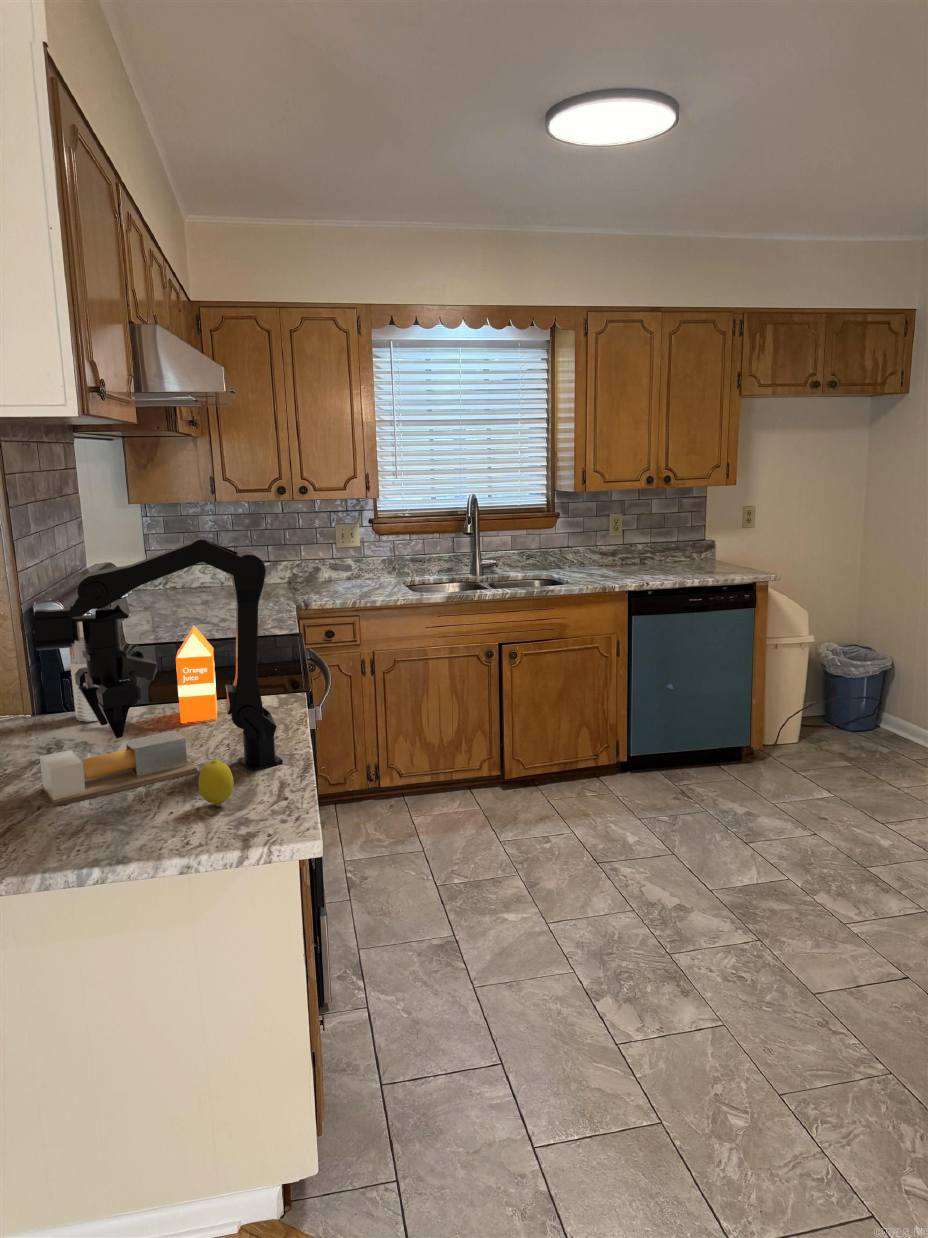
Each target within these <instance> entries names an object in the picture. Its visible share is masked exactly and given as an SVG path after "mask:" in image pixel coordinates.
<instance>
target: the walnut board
mask: <svg viewBox="0 0 928 1238" xmlns="http://www.w3.org/2000/svg"><path fill="white" fill-rule="evenodd" d="M195 773H198V768H197V767H196V766H195V765H194V764H192V763H191V762H190V761H189V760H187V766H185V767H180V768H176V769H172V770H168V771H164V772H159V773H155V774H151V775H147V776H142V777H138V778H137V777H136V776H135V775H134V774H133V773H132V772H131V771H130V770H126V771H122V772H117V773H113V774H108V775H104V776H100V777H95V778H91V779H87V780H86V779H85V778H84V782H85V792H86V793H81V794H77V795H73V796H69V797H65V798H61V799H56V800H53V799H52V797H51V796H50V795H49V793H48V792H47V791H46V789H45V788H44V787H43V783H42V784H41V789H42V790H43V791H44V793H45V795H46V796H47V797H48V798H49V800H50V802H52V803H53V805H54V806H55V807H59V806H63V805H67V804H73V803H76V802H79V801H84V800H88V799H93V798H95V797H100V796H104V795H110V794H113V793H117V792H122V791H125V790H128V789H132V788H133V789H134V788H137V787H138V788H139V787H142V786H146V785H150V784H153V783H159V782H163V781H166V780H170V779H175V778H178V777H182V776H187V775H190V774H191V775H192V774H195Z"/></svg>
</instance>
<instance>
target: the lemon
mask: <svg viewBox="0 0 928 1238" xmlns="http://www.w3.org/2000/svg"><path fill="white" fill-rule="evenodd" d="M234 781H235V780H234V777H233V773H232V771H231V769H230V766H229V765H227V763H224V762H222V761H220V760H217V759H212V760H211V761H210V762H208V763H206V764H205V765H204V766H203V767H202V768H201V770H200V772H199V776H198V784H197V785H198V791H199V794H200V796H201V798H202V799H203V800H204V801H206V802H207V803H210V804H213V806H216V807H219V806H220V805H221V804H222V803H223V802H225V801H227V800H228V799H229V798H231V797H230V796H231V795H232V793H233V789H234V785H235V784H234ZM218 805H219V806H218Z"/></svg>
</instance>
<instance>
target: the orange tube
mask: <svg viewBox="0 0 928 1238" xmlns="http://www.w3.org/2000/svg"><path fill="white" fill-rule="evenodd" d="M81 762H82V763H83V773H84V778H85V779H86V780H87V779H91V778H95V777H100V776H104V775H108V774H113V773H117V772H122V771H126V770H130V769H135V768H136V767H135V756H134V750H133V749H128V750H126V749H125V750H119V751H114V752H110V753H105V754H101V755H95V756H91V757H85V758H82V759H81Z"/></svg>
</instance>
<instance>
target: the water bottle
mask: <svg viewBox="0 0 928 1238" xmlns="http://www.w3.org/2000/svg"><path fill="white" fill-rule="evenodd" d="M85 615H89V614H88V613H86V614H84V615H83V616H85ZM79 628H80V641H75V644H74V646H73V647H71V648H68V649H69V661H70V664H69V667H70V674H71V684H72V695H73V703H74V713H75V718H76V720H77V719H78V720H79V722H80V721H85V722H84V723H93V722H92V721H95V722H99V721H98V719H97V718H96V716H95V714H94V713H93V711H92V709H91V708H90V706H89V704H88V703H87V701H86V699H85V698H84V696H83V694H82V693H81V691H80V690H79V688H78V687H79V686H78V685H77V684H76V681H75V673H76V672H77V671H78V670H79V669H80V668H85V667H87V663H86V658H85V657H83V653H82V651H84V650H85V643H84V634H83V625H82V622H79ZM78 720H77V721H78Z"/></svg>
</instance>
